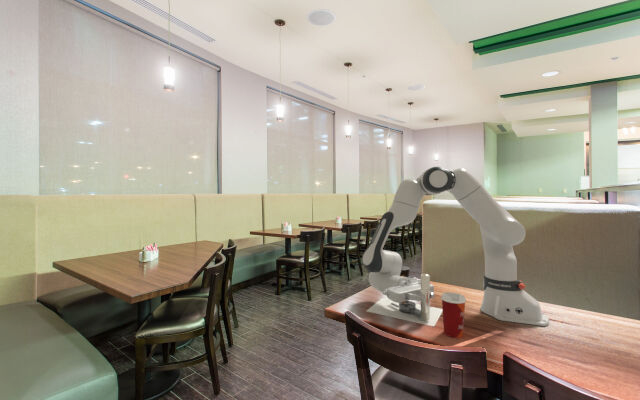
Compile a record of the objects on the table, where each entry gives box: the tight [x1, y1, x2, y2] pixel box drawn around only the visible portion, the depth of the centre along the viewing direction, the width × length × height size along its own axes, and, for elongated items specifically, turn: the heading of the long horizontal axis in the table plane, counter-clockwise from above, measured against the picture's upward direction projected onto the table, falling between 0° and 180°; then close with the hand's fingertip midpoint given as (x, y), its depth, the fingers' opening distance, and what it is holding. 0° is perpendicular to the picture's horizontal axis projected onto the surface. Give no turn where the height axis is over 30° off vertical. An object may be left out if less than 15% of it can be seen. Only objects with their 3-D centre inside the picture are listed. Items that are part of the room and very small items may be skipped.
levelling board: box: [366, 297, 443, 327], centre depth 117 cm, size 26×19×2 cm
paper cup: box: [440, 291, 467, 339], centre depth 97 cm, size 8×8×14 cm
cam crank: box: [399, 273, 431, 320], centre depth 115 cm, size 21×6×17 cm, turn 23°
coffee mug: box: [400, 265, 410, 277], centre depth 152 cm, size 12×9×10 cm
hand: (427, 297), depth 105 cm, fingers open, 5 cm apart
